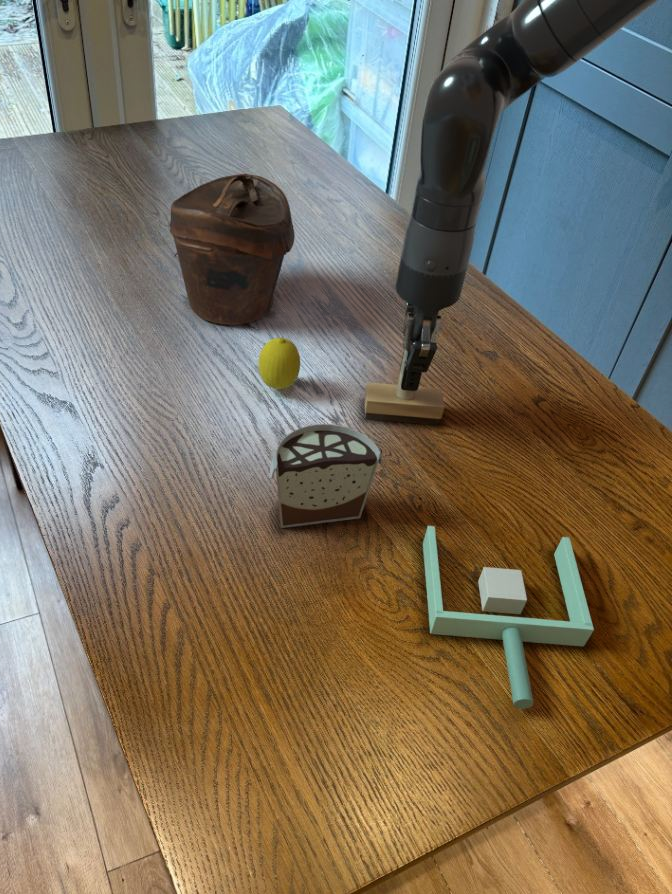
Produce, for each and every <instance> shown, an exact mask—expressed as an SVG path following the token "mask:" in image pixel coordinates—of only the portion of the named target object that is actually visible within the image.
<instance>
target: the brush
mask: <svg viewBox="0 0 672 894" xmlns="http://www.w3.org/2000/svg"><path fill="white" fill-rule="evenodd" d="M403 351H404V355H403V354H402V356H403V360H402V359H401V361H402V365H401V364H400V366H401V370H400V369H399V374H398V381H397V384H393V383H383V382H382V383H380V382H371V381H370V382H369V381H367V382H366V384H365V390H364V419H365V420H374V421H385V422H396V423H399V422H400V423H407V424H408V423H410V424H421V425H432V426H433V425H434V426H438V425H439V422H440V420H442V418H443V414H444V410H445V402H444V401H445V400H444V395H443V394H444V393H443V388H442V387H441V388H440V387H430V386H419V388H418V390H416V391H407V390H402V389H401V380H402V375H403V370H404V365H405V363H404V359H405V358H406V352H407V350H404V349H403Z"/></svg>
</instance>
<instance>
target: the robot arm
mask: <svg viewBox="0 0 672 894" xmlns="http://www.w3.org/2000/svg"><path fill="white" fill-rule="evenodd" d="M659 1H660V0H522V1H521V2H520V3H519V4H518V5H517V6H516V8H515V9H514V10H513V11H512V12H510V13H508V14H507V15H506V16H504V17H503V18H502V19H500V20H499V21H497V22H495V23H494V24H493V25H492V26H491V27H489V28H488V29H487V30H485V31H484V32H482V33H481V34H480V35H478V36H477V37H476V38H475V39H474V40H472V41H471V42H469V43H468V44H467V45H466V46H465V47H464V48H462V49H461V50H460V51H458V53H456V54H455V55H454V56H453V57H451V59H450V60H449V61H448V62H447V63H446V64H445V66H444V67H443V69H442V70H441V71H440V72H439V73H438V75H437V76H436V77H435V79H434V80H433V81H432V83H431V85H430V88H429V90H428V93H427V97H426V99H425V105H424V109H423V115H422V123H421V133H420V149H419V150H420V153H419V171H418V175H417V180H416V184H415V189H414V195H413V198H412V199H413V200H412V206H411V211H410V216H409V219H408V222H407V225H406V228H405V233H404V237H403V243H402V249H401V255H400V260H399V264H398V269H397V276H396V282H395V291H396V293H397V295H398V296H399V297H400V299H402V301H404V302H405V305H404V319H403V324H402V335H403V337H404V338H403V341H402V348H403V352H402V356H401V363H400V365H399V371H400V370H401V365H402V360H403V355H404V350H407V352H406V358H405V359H404V363H405V365H404V370H403V375H402V380H401V389H402V390H407V391H416V390H418V388H419V387H420V382H421V379H422V374H423V373H428V371H429V368H430V366H431V363H432V362H433V359H434V357H435V354H436V351H437V350H438V345H437V344H438V343H437V341H436V337H437V333H438V331H440V328H441V323H442V314H439V312H440V311H442V310H444V309H446V308H450V307H452V306H455V304H456V303H457V302H458V301H459V300H460V298H461V294H462V290H463V287H464V282H465V280H466V279H465V278H466V274H467V271H468V267H469V262H470V258H471V254H472V250H473V247H474V242H475V241H474V240H475V231H476V225H477V221H478V220H477V219H478V216H479V212H480V208H481V203H482V199H483V196H484V192H485V186H486V178H487V177H486V171H485V168H486V164H487V162H488V161H487V160H488V157H489V153H490V149H491V145H492V141H493V138H494V134H495V131H496V127H497V125H498V122H499V119H500V117H501V115H502V114H503V112H504V111H505V110H506V109H508V108H509V107H510V106H511V105H512V104H513V103H515V102H516V101H517V100H519V98H521V97H522V96H523V95H525V94H526V93H527V92H528V91H530V90H531V89H532V88H534V87H535V86H536V85H538V84H539V83H541V81H543V80H544V79H546V78H553V77H555V76H558V75H560V74H561V73H563V72H564V71H566V70H568V69H569V68H570V67H571V68H572V67H573V65H575V64H576V63H578V61H581V60H582V59H584V57H586V56H587V55H589V53H591V52H592V51H594V50H595V49H596V48H598V47H599V46H601V45H602V44H604V43H605V42H606V41H608V39H610V38H611V37H612V36H614V35H616V34H617V32H619V31H620V30H621V29H622V28H624V27H625V26H626V25H628V24H629V23H630V22H633V20H634V19H636V18H637V17H638V16H640V15H641V14H643V13H644V12H646V10H648V9H649V8H650V7H652V6H653V5H654V4H656V3H657V2H659Z"/></svg>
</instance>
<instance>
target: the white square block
mask: <svg viewBox="0 0 672 894" xmlns="http://www.w3.org/2000/svg"><path fill="white" fill-rule="evenodd" d="M477 583H478V589H479V597H480V603H481V604H480V605H481V610H482V612H487V613H498V614H499V613H500V614H501V613H502V614H512V615H521V614H522V612H523V610H524V609H525V606H526V604H527V602H528V597H527V592H526V588H525V587H526V586H525V583H524V578H523V572H522V570H521V569H513V568H500V567H490V566H489V567H488V566H483V568H482V570H481V574H480V576H479V578H478V581H477Z"/></svg>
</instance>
